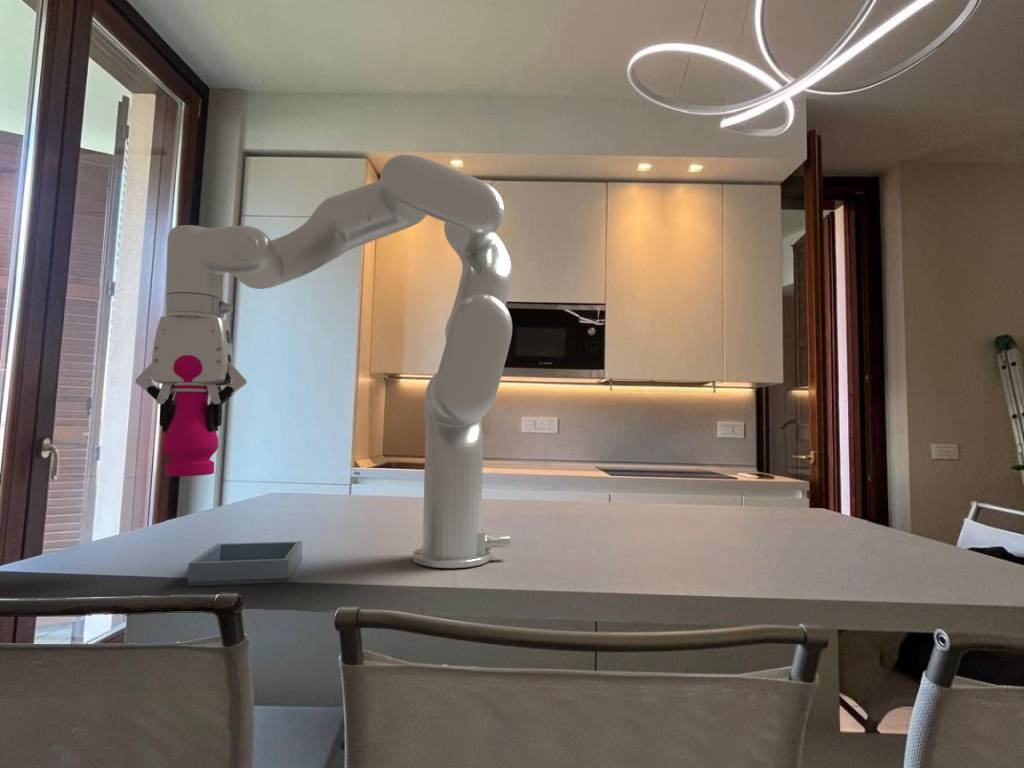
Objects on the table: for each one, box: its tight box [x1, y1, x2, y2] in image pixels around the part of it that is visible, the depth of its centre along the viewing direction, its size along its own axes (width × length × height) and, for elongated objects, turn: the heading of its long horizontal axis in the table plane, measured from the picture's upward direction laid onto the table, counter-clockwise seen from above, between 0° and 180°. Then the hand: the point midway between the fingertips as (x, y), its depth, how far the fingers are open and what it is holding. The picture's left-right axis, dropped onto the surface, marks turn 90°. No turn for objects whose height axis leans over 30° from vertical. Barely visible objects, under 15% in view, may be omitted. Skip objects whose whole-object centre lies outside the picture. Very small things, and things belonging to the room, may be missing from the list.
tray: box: [187, 540, 303, 587], centre depth 83 cm, size 13×13×3 cm
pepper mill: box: [161, 355, 219, 477], centre depth 84 cm, size 7×7×20 cm
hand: (191, 430), depth 84 cm, fingers closed on pepper mill, 5 cm apart
